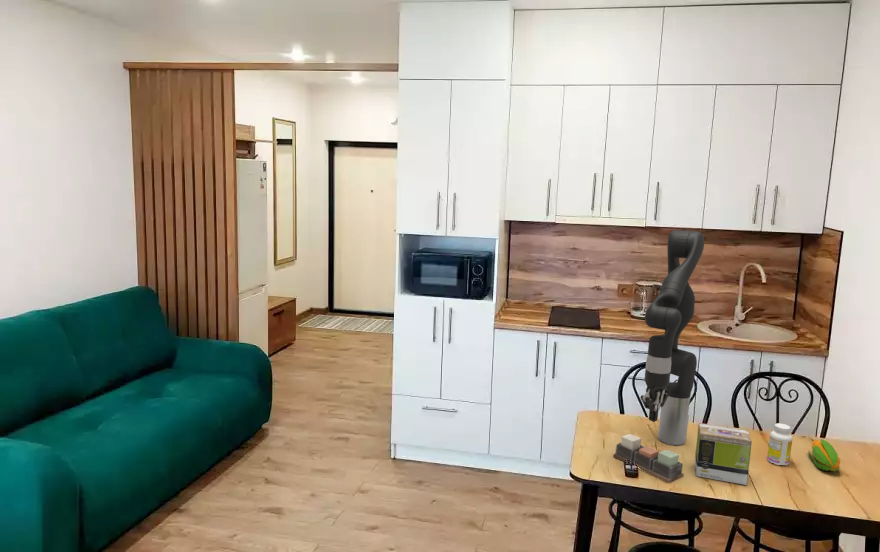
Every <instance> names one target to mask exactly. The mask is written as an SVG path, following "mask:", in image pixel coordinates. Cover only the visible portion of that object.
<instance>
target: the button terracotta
mask: <svg viewBox="0 0 880 552" xmlns="http://www.w3.org/2000/svg"><path fill="white" fill-rule="evenodd" d="M659 452H660V451H659V450H657V449H655V448H653V447H650V446H648V445H646V446H644V448H641V449H639V454H642V455H644V456H646V457H648V458H654V457H656V456H658V453H659Z"/></svg>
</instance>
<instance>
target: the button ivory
mask: <svg viewBox="0 0 880 552" xmlns="http://www.w3.org/2000/svg"><path fill="white" fill-rule="evenodd" d="M620 443H621V445H622V446H624V447H626V448H628V449H631V450H635V449H637V448H640V445H641V446H642V444H641V443H642V438H641V437H639V436H636V435H633V434H631V433H629V434H625V435H623V436H621V442H620Z"/></svg>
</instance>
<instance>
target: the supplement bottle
mask: <svg viewBox="0 0 880 552" xmlns="http://www.w3.org/2000/svg"><path fill="white" fill-rule="evenodd" d="M790 432H791V426H789V425H788V424H785V423H779V422H778V423H775V424H774V430H771V432H770V433H769V434H770V435H769V441H768V449H767V455H766V458H767V461H768V462H770V464H772V463H774V464H773V465H775V464H777V465H776V466H779V465H786V466H788V465H790V459H791V452H792V444H793V436H792V434H790Z"/></svg>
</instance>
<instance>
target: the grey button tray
mask: <svg viewBox="0 0 880 552" xmlns="http://www.w3.org/2000/svg"><path fill="white" fill-rule="evenodd" d="M644 447H645V446H643V445H642V444H641V445H640V448H637V449H635V450H631V449H628V448H626V447H624V446H622V445H621V442H618V443H617V444H616V445H615V453H613V455H612V456H613V458H614V459H616V460H619V461H621V462H622V461H625V460H626V459H628V460H631V461H633V462H635V463H636V465H637V467H639V468H640V469H641V470H640V471H642V470H643V471H642V472H644V471H645V472H644V473H646V474H648V475H650V476H652V477H654V478H656V479H659V480H661V481H663V482H665V483H667V484H669V483H673V482H675V481H676V480H679V479H681V478H684V472H682V471H683V465H684V464H683V463H682V462H680V461H678V464H677V465H675V466H672V467H668V466H666V465H664V464H662V463H659V462H657V461H658V456H656V457H654V458H648V457H646V456H644V455H642V454H639V449H641V448H644Z"/></svg>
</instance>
